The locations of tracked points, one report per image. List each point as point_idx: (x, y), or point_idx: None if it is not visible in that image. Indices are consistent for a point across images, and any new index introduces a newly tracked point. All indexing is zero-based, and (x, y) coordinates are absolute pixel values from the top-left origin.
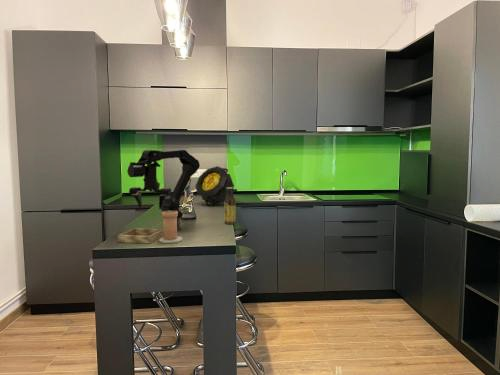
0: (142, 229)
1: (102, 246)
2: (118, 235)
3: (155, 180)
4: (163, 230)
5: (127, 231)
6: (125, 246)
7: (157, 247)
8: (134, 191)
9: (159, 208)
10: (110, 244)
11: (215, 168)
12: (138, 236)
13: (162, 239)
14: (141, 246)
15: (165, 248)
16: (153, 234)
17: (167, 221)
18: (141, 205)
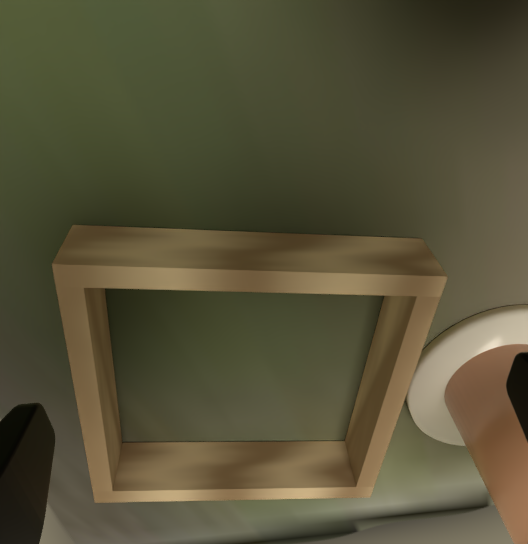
0: (186, 287)
1: (76, 525)
2: (103, 501)
3: None
4: (479, 472)
5: (85, 397)
6: (220, 510)
7: (421, 502)
8: None
9: (518, 410)
10: None
11: None
12: (275, 496)
13: (439, 414)
14: (319, 500)
15: (469, 510)
16: (380, 453)
17: None
18: (17, 485)
